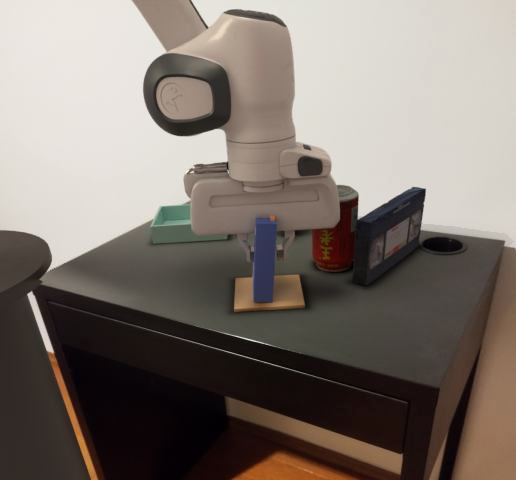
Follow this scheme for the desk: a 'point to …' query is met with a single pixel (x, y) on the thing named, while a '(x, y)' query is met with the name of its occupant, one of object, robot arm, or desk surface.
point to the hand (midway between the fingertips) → (267, 259)
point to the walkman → (264, 259)
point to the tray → (176, 226)
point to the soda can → (338, 235)
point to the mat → (284, 294)
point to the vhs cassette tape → (387, 235)
